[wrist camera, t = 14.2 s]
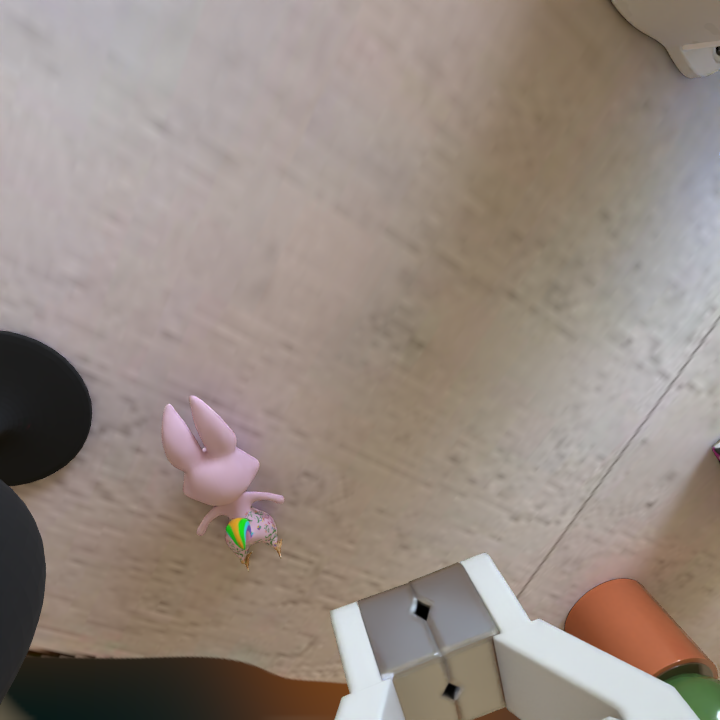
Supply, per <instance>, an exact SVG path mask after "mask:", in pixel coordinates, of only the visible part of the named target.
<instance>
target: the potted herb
mask: <svg viewBox="0 0 720 720" xmlns="http://www.w3.org/2000/svg"><path fill="white" fill-rule="evenodd" d="M565 632H567V633H569V634H571V635H573V636H574V637H576V638H578V639H580V640H582V641H584V642H586V643H588V644H590V645H592V646H594V647H596V648H598V649H600V650H602V651H604V652H606V653H608V654H610V655H612V656H614V657H616V658H618V659H620V660H622V661H624V662H626V663H628V664H630V665H632V666H634V667H636V668H638V669H640V670H642V671H644V672H646V673H648V674H650V675H652V676H653V677H655V678H657V679H659V680H661V681H663V682H665V683H667V684H669V685H671V686H673V687H674V688H675V689H676V690H677V691H678V693H679V694H680V695H681V696H682V698H683V699H684V700H685V701H686V703H687V704H688V705H689V706H690V708H691V709H692V710H693V711H694V713H695V714H696V715H697V717H698V718H699V719H700V720H720V680H718V672H717V668H716V666H715V665H714V663H713V662H712V661H711V660H710V659H709V658H708V657H707V656H706V654H705V653H704V652H703V651H702V650H701V649H700V648H699V647H698V646H697V645H696V644H695V642H694V641H693V640H692V639H691V638H690V637H689V636H688V635H687V634H686V633H685V631H684V630H683V629H682V628H681V627H680V626H679V625H678V624H677V623H676V622H675V620H674V619H673V618H672V617H671V616H670V615H669V614H668V613H667V612H666V611H665V610H664V608H663V607H662V606H661V605H660V604H659V603H658V602H657V601H656V600H655V599H654V597H653V596H652V595H651V594H650V593H649V592H648V591H647V590H646V589H645V588H644V586H643V585H642V584H640V583H639V582H637V581H635V580H632V579H615V580H611V581H608V582H605V583H603V584H600V585H598V586H597V587H595V588H593V589H592V590H590V591H589V592H587V593H586V594H585V595H584V596H583V597H582V598H580V599H579V600H578V602H577V603H576V604H575V605H574V606H573V608H572V609H571V611H570V613H569V615H568V617H567V619H566V623H565Z"/></svg>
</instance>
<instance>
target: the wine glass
mask: <svg viewBox="0 0 720 720" xmlns="http://www.w3.org/2000/svg"><path fill="white" fill-rule="evenodd" d="M91 419H92V406H91V399H90V396H89V393H88V390H87V388H86V386H85V384H84V382H83V380H82V378H81V376H80V375H79V374H78V372H77V371H76V370H75V368H74V367H73V366H72V365H71V364H70V363H69V362H68V361H67V360H66V359H65V358H64V357H63V356H61V355H60V354H59V353H57V352H56V351H55V350H53V349H52V348H50V347H48V346H46V345H45V344H43V343H41V342H39V341H37V340H34V339H31V338H29V337H26V336H23V335H19V334H16V333H12V332H7V331H0V704H1V702H2V700H3V698H4V697H5V695H6V693H7V691H8V690H9V688H10V686H11V684H12V682H13V681H14V679H15V677H16V675H17V673H18V671H19V669H20V667H21V665H22V663H23V661H24V659H25V657H26V655H27V653H28V650H29V647H30V644H31V642H32V639H33V636H34V634H35V630H36V627H37V624H38V621H39V617H40V613H41V609H42V605H43V599H44V591H45V579H46V563H45V556H44V548H43V542H42V538H41V535H40V533H39V530H38V527H37V525H36V522H35V520H34V518H33V516H32V515H31V513H30V511H29V510H28V508H27V507H26V505H25V503H24V502H23V501H22V500H21V499H20V498H19V496H18V495H17V494H16V493H15V492H14V491H13V490H12V489H11V488H10V487H9V486H15V485H21V484H26V483H30V482H34V481H37V480H40V479H43V478H45V477H47V476H49V475H51V474H53V473H55V472H57V471H58V470H60V469H61V468H63V467H64V466H66V465H67V464H68V463H69V462H70V461H71V460H72V459H73V458H74V457H75V456H76V455H77V453H78V452H79V451H80V450H81V448H82V446H83V445H84V443H85V441H86V439H87V436H88V433H89V429H90V426H91Z"/></svg>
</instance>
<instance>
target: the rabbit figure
mask: <svg viewBox="0 0 720 720" xmlns="http://www.w3.org/2000/svg"><path fill="white" fill-rule="evenodd" d="M189 401H190V405H191V410H192V416H193V420H194V424H195V427H196V429H197V431H198V433H199V436H200V438H201V440H202V442H203V444H204V446H205V448H203V449H201V448H200V446H199V444H198V442H197V441H196V439H195V437H194V436H193V434H192V432H191V431H190V429H189V428H188V426H187V425H186V423H185V422H184V421H183V419H182V418H181V417H180V416H179V415H178V413H177V412H176V411H175V409H174V408H173V407H172V405H171V404H167V405H166V407H165V409H164V412H163V418H162V443H163V447H164V450H165V453H166V456H167V458H168V460H169V461H170V463H171V464H172V465H173V466H174V467H176V468H178V469H180V470H182V471H184V472H185V474H184V485H183V492H184V494H185V495H186V496H188V497H190V498H192V499H194V500H197V501H199V502H202V503H204V504H207V505H213V506H214V507H213V508H212V509H211V510H210V512H209V513H208V514H207V515H206V516H205V517H204V519H203V520H202V522H201V524H200V526H199V527H198V529H197V534H198V535H199V536H202V535H204V534H205V532H206V529H207V526H208V525H209V523H210V522H211V521H212V520H213V519H214V518H216V517H217V516H220V515H225V516H228V517H229V523H228V525H227V527H226V534H225V540H226V543H227V545H228V546H229V547H230V548H231V549H232V551H233V552H234V553H235V554H236V555H237V556H238V557H239V558H240V560H241V563H242V564H245V565H246V567H247V570H248V572H249V568H248V565H249V558H250V554H252V552H250V553H249V554H247V552H248V549H249V547H250V545H252V544H254V543H259V542H264V543H266V544H268V545H270V546H272V547H274V549H275V550H277V552H278V554H279V557H280V558H281V555H280V552H281V545H282V541H283V540H282V539H281V540H280V542H279V541H277V527H276V523H275V521H274V520H273V518H272V517H271V516H270V515H269V514H267V513H266V512H263V511H261V510H258V509H256V508H253V507H252V506H251V505H252V503H253V502H255V501H258V500H271V501H274V502H276V503H279V504H281V503H283V502H284V500H285V499H284V497H283V496H281V495H277V494H273V493H267V492H255V491H253V492H245V491H246V489H247V488H248V486H249V485H250V483H251V482H252V480H253V479H254V477H255V475H256V473H257V471H258V469H259V461H258V460H257V459H256V458H254V457H253V456H251V455H249V454H248V453H246V452H244V451H243V450H241V449H239V448H237V447H236V444H237V439H236V436H235V434H234V432H233V431H232V430H231V429H230V427H229V426H228V425H227V424H226V423H225V422H224V420H223V419H222V418H221V417H220V416H219V415H218V414H217V413H216V412H215V411H213V410H212V409H211V408H210V407H209V406H208V405H207V404H206V403H205V402H203V401H202V400H201V399H199V398H198V397H196V396H189Z"/></svg>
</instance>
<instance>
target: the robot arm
mask: <svg viewBox="0 0 720 720" xmlns="http://www.w3.org/2000/svg"><path fill="white" fill-rule="evenodd" d="M611 1H612V3H613V4H614V6H615V7H616V9H617V10H618V11H619V12H620V14H621V15H622V16H623V17H624V18H625V19H626V20H627V21H628V22H629V23H630V24H632V25H633V26H634V27H635V28H637V29H638V30H640V31H641V32H643V33H645V34H647V35H648V36H650V37H652V38H654V39H655V40H657V41H658V42H660V43H661V44H662V45H663V46H664V47H665V48H666V50H667V51H668V53H669V55H670V57H671V58H672V60H673V62H674V63H675V65H676V66H677V68H678V69H679V70H680V72H681V73H682V74H683V75H684V76H686V77H688V78H699V77H705V76H708V75H711V74H713V73H715V72H717V71H719V70H720V0H611ZM716 46H719V49H718V51H717V53H716ZM358 605H359V606H358ZM359 608H360V609H359ZM360 611H361V612H360ZM361 614H362V615H361ZM330 616H331V622H332V626H333V630H334V634H335V638H336V642H337V646H338V650H339V653H340V657H341V661H342V665H343V669H344V673H345V677H346V681H347V684H348V688H349V692H350V694H349V695H346V696H344V697H342V699H341V702H340V705H339V708H338V711H337V714H336V717H335V720H472V719H475V718H478V717H480V716H483V715H486V714H488V713H491V712H494V711H496V710H499V709H501V708H504V707H507V710H509V711H510V712H511V713H513V714H514V715H515V716H517V717H518V718H519V719H521V720H700V719H699V718H698V717H697V715H696V714H695V713H694V711H693V710H692V709H691V708H690V706H689V705H688V704H687V703H686V701H685V700H684V699H683V698H682V696H681V695H680V694H679V693H678V691H677V690H676V689H675V688H674V687H673V686H671V685H669V684H667V683H665V682H663V681H661V680H659V679H657V678H655V677H653V676H652V675H650V674H648V673H646V672H644V671H642V670H640V669H638V668H636V667H634V666H632V665H630V664H628V663H626V662H624V661H622V660H620V659H618V658H616V657H614V656H612V655H610V654H608V653H606V652H604V651H602V650H600V649H598V648H596V647H594V646H592V645H590V644H588V643H586V642H584V641H582V640H580V639H578V638H576V637H574V636H573V635H571V634H569V633H567V632H565V631H563V630H561V629H559V628H557V627H555V626H553V625H551V624H549V623H547V622H545V621H543V620H541V619H536V620H533V621H531V620H530V619H529V617H528V616H527V614H526V612H525V611H524V609H523V608H522V606H521V605H520V603H519V601H518V600H517V598H516V597H515V595H514V594H513V592H512V590H511V589H510V587H509V586H508V584H507V582H506V581H505V579H504V578H503V576H502V575H501V573H500V571H499V570H498V568H497V567H496V565H495V564H494V562H493V560H492V559H491V557H490V556H489V555H488V554H487V553H485V552H484V553H482V554H479V555H477V556H474V557H471V558H469V559H466V560H464V561H461V562H460V563H455V564H452V565H450V566H447V567H445V568H442V569H440V570H437V571H435V572H432V573H430V574H427V575H425V576H422V577H420V578H417V579H415V580H412V581H410V582H409V583H407V584H404V585H401V586H398V587H395V588H392V589H390V590H387V591H384V592H381V593H378V594H375V595H373V596H370V597H367V598H364V599H361V600H358V603H357V602H354V603H351V604H348V605H346V606H343V607H340V608H337V609H335V610H332V611H330Z"/></svg>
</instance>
